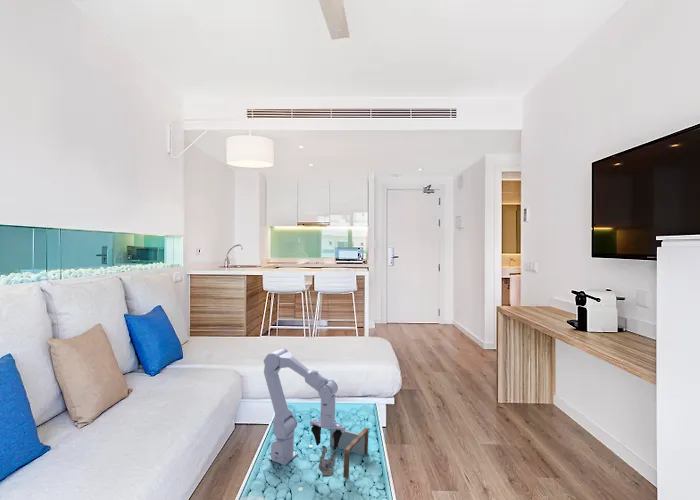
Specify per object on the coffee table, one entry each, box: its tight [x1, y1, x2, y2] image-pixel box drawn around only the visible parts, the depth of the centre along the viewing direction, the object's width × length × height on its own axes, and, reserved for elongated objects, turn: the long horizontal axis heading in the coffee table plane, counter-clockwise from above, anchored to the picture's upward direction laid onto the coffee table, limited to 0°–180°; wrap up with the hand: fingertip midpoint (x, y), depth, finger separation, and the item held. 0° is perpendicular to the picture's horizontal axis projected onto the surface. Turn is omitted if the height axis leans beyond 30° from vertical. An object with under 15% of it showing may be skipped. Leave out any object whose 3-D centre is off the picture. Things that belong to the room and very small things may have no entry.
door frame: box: [342, 427, 370, 479], centre depth 164 cm, size 20×2×11 cm, turn 154°
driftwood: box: [318, 445, 337, 477], centre depth 165 cm, size 21×7×2 cm, turn 176°
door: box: [329, 429, 365, 456], centre depth 174 cm, size 16×2×8 cm, turn 64°
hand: (327, 446), depth 161 cm, fingers open, 7 cm apart
